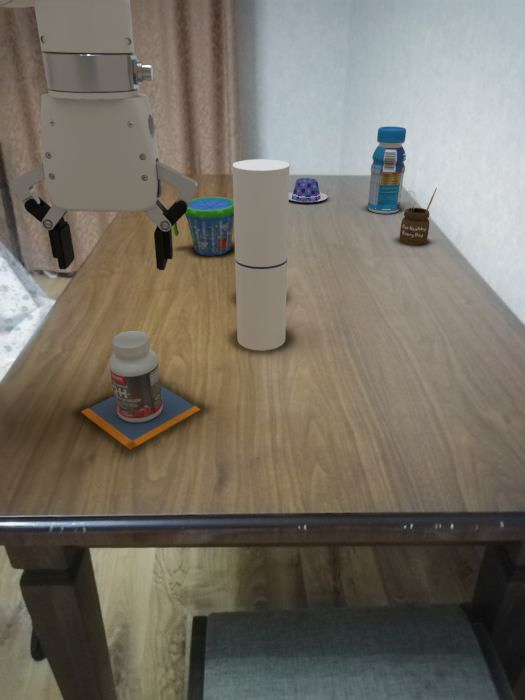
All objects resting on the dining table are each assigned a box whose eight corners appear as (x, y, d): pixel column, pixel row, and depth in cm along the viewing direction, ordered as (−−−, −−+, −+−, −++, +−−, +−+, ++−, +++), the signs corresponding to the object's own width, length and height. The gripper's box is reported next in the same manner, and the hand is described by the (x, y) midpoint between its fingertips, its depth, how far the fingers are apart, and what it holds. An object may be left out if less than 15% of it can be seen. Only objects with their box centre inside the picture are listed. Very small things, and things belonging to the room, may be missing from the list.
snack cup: (169, 258, 110) (164, 208, 105) (183, 241, 119) (179, 195, 114) (244, 262, 108) (243, 211, 103) (253, 245, 117) (252, 197, 112)
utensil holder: (400, 236, 121) (407, 182, 115) (429, 239, 120) (437, 184, 114) (397, 245, 117) (404, 188, 111) (426, 248, 115) (435, 191, 109)
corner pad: (81, 413, 64) (81, 411, 64) (150, 380, 70) (149, 377, 70) (130, 452, 58) (130, 449, 58) (200, 411, 64) (200, 409, 64)
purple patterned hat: (306, 207, 143) (307, 187, 141) (275, 198, 151) (275, 179, 148) (336, 199, 150) (337, 180, 148) (305, 191, 158) (305, 173, 155)
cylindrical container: (230, 347, 78) (224, 168, 65) (246, 325, 84) (243, 157, 71) (278, 354, 76) (280, 172, 63) (290, 331, 82) (295, 160, 69)
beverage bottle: (360, 209, 141) (367, 128, 131) (380, 204, 146) (388, 124, 136) (386, 216, 136) (396, 131, 126) (406, 210, 140) (417, 128, 130)
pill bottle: (111, 423, 62) (97, 349, 57) (125, 396, 66) (114, 326, 62) (157, 425, 61) (147, 351, 57) (168, 398, 66) (160, 328, 61)
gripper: (196, 76, 50) (202, 253, 58) (6, 72, 49) (41, 251, 58) (189, 82, 43) (197, 280, 52) (-30, 78, 43) (15, 278, 51)
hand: (115, 264), depth 55 cm, fingers open, 9 cm apart
